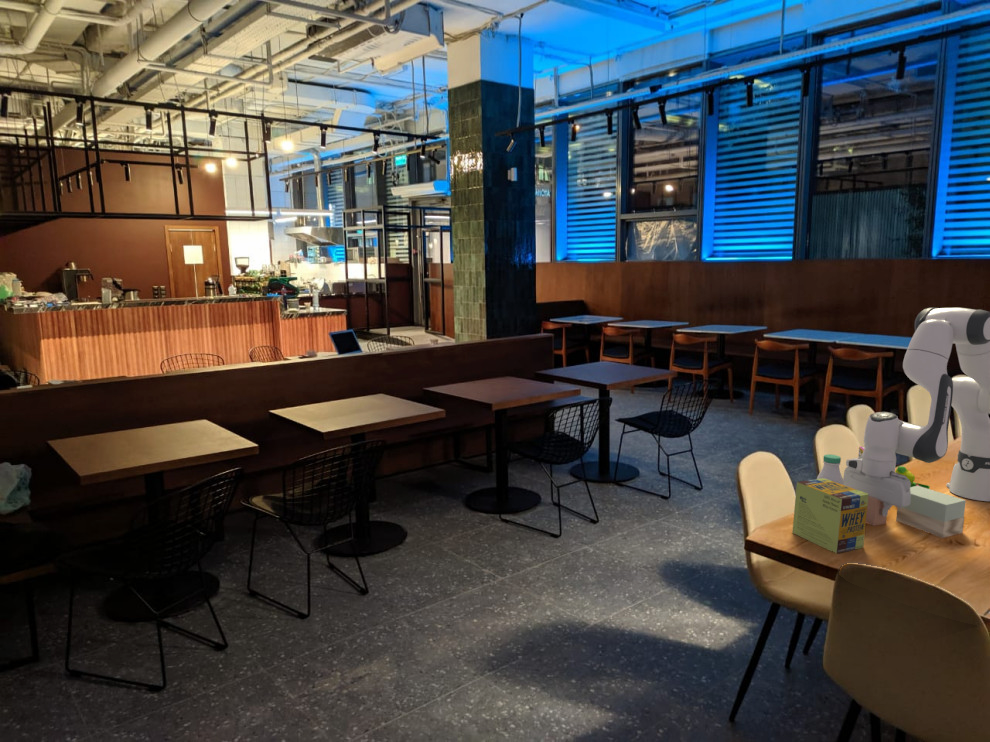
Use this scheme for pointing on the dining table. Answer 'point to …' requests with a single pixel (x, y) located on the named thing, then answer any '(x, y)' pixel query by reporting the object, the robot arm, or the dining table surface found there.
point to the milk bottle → (831, 469)
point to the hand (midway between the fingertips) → (873, 511)
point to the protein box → (830, 514)
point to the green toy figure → (909, 476)
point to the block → (875, 512)
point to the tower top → (936, 504)
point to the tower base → (930, 523)
